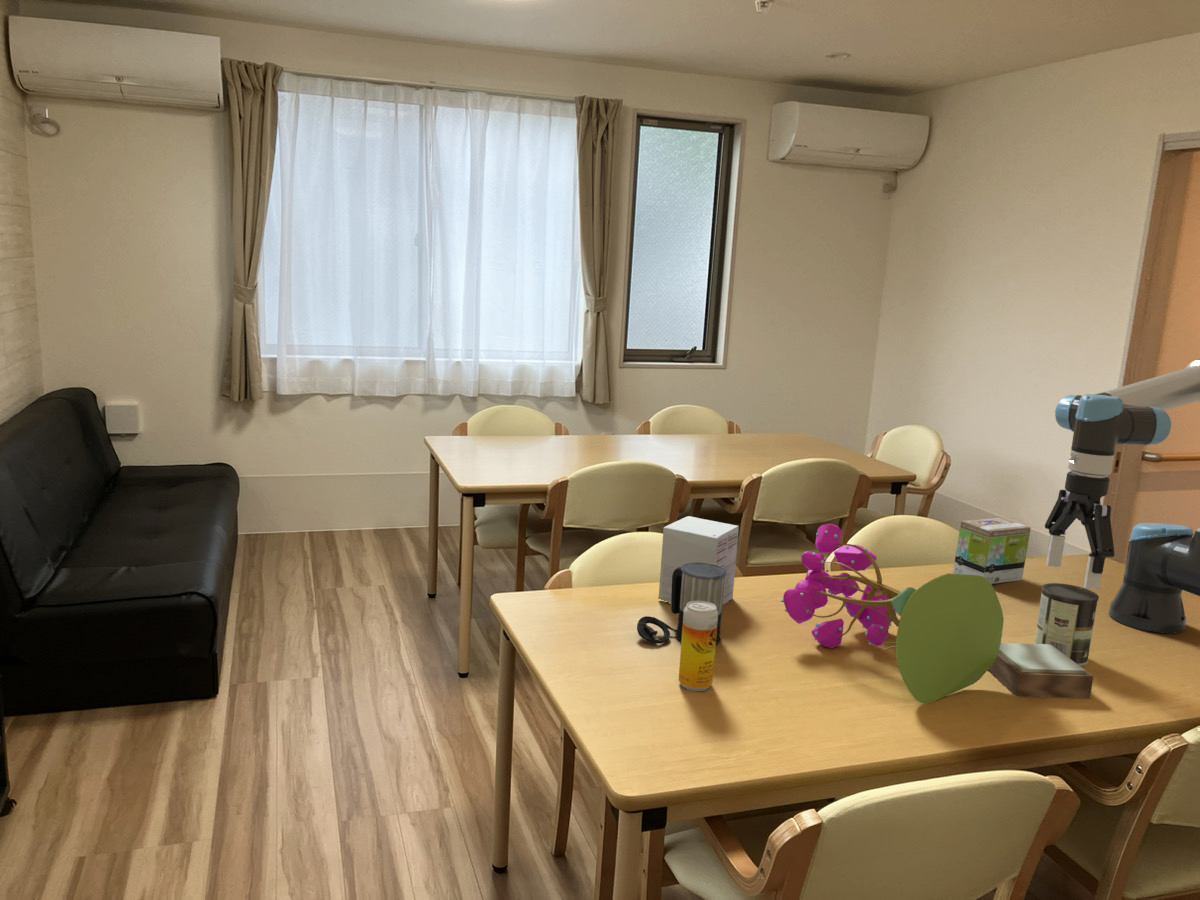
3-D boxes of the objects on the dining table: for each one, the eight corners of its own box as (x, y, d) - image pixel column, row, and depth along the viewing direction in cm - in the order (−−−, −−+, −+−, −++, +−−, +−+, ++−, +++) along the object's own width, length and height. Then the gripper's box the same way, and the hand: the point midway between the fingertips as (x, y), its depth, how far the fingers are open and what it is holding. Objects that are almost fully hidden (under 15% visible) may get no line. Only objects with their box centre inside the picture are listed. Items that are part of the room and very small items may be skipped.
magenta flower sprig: (911, 534, 157) (781, 512, 188) (879, 697, 155) (753, 648, 186) (1022, 562, 171) (884, 537, 202) (993, 712, 169) (859, 664, 200)
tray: (1049, 666, 180) (1052, 642, 179) (1089, 698, 166) (1094, 673, 165) (980, 664, 179) (983, 640, 178) (1015, 696, 165) (1019, 670, 164)
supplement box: (734, 598, 209) (740, 525, 205) (710, 615, 198) (717, 538, 194) (682, 586, 215) (687, 515, 212) (656, 601, 204) (662, 526, 201)
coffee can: (1078, 650, 189) (1089, 586, 186) (1094, 670, 179) (1106, 602, 177) (1026, 643, 191) (1036, 580, 188) (1039, 663, 181) (1049, 596, 178)
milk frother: (730, 640, 184) (736, 570, 182) (682, 661, 173) (688, 587, 170) (675, 619, 194) (680, 553, 191) (626, 638, 182) (631, 567, 180)
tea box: (983, 587, 227) (991, 530, 224) (951, 574, 236) (958, 520, 233) (1023, 581, 234) (1032, 525, 231) (991, 569, 243) (998, 515, 240)
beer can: (703, 695, 159) (709, 614, 156) (672, 686, 162) (678, 606, 159) (717, 683, 164) (724, 605, 161) (687, 674, 167) (693, 597, 164)
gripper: (1037, 459, 190) (1021, 556, 194) (1108, 487, 165) (1089, 597, 169) (1071, 461, 190) (1055, 558, 194) (1147, 489, 166) (1128, 599, 170)
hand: (1071, 576), depth 182 cm, fingers open, 13 cm apart
